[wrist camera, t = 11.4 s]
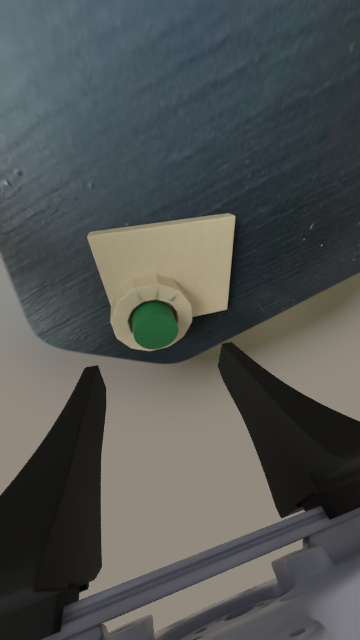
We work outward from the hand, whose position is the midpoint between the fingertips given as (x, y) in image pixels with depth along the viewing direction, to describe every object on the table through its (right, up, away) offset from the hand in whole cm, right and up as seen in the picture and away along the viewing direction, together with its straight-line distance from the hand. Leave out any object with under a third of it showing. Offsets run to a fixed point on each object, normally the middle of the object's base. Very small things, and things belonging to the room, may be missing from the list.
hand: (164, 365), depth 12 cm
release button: (-1, +3, +4) cm, 5 cm away
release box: (0, +6, +5) cm, 8 cm away
